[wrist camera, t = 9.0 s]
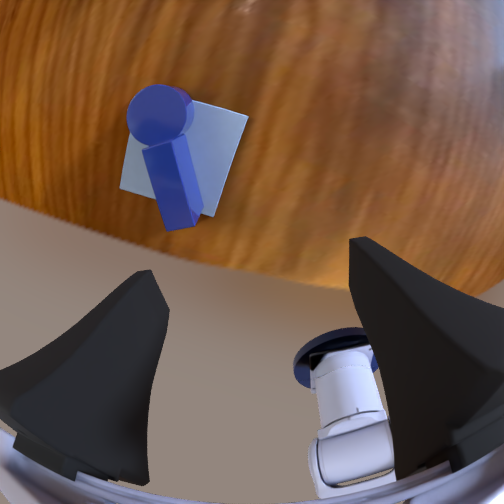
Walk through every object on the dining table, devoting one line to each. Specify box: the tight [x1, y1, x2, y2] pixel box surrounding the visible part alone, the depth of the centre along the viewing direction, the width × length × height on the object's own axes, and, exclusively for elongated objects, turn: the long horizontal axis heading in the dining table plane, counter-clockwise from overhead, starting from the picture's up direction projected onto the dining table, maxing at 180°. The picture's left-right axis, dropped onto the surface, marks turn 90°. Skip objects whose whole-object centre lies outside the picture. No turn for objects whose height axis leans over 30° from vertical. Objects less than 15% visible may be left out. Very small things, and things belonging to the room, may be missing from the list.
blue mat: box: [120, 100, 248, 217], centre depth 16 cm, size 7×7×1 cm
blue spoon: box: [127, 85, 204, 231], centre depth 14 cm, size 8×4×3 cm, turn 10°
